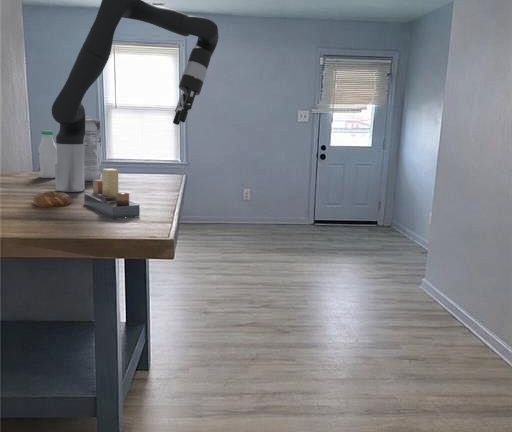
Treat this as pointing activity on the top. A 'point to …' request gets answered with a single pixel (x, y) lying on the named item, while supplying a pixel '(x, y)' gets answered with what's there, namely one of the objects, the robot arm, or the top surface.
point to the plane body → (111, 203)
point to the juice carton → (92, 149)
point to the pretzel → (51, 199)
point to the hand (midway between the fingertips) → (178, 122)
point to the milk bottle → (47, 155)
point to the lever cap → (110, 182)
